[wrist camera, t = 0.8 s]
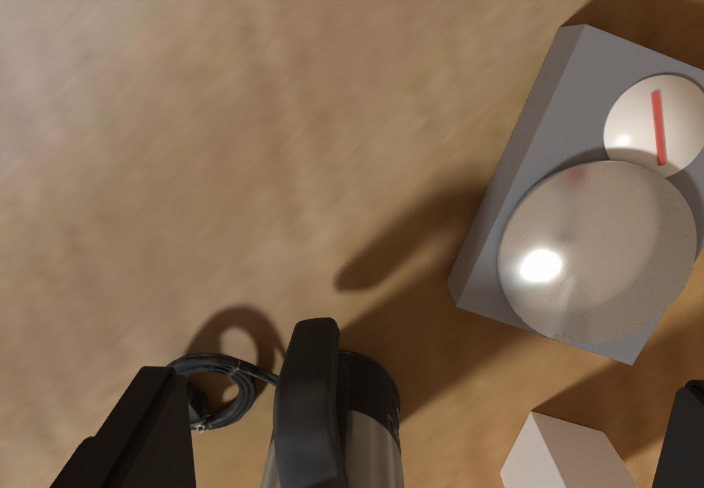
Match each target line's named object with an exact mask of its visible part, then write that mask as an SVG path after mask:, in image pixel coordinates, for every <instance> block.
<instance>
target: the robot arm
mask: <svg viewBox="0 0 704 488" xmlns="http://www.w3.org/2000/svg"><path fill="white" fill-rule="evenodd" d="M50 488H196V480H195V469H194V458H193V448H192V437H191V427H190V416H189V406H188V395H187V385H186V378H185V376H184V375H177V373H176V370H175V368H174V367H156V366H144V367H142V368H141V369H140V370H139V372H138V373H137V375H136V376H135V378H134V379H133V381H132V382H131V383H130V385H129V386H128V388H127V389H126V391H125V392H124V394H123V395H122V397H121V398H120V400H119V401H118V403H117V404H116V406H115V407H114V409H113V410H112V412H111V413H110V415H109V416H108V418H107V419H106V421H105V422H104V423H103V425H102V426H101V428H100V429H99V431H98V432H97V434H96V435H95V437H91V436H90V437H88V438H86V439H84V440H83V442H82V443H81V444H80V445H79V446H78V448H77V449H76V451H75V452H74V453H73V455H72V456H71V458H70V459H69V461H68V462H67V463H66V465H65V466H64V468H63V469H62V471H61V472H60V473H59V475H58V476H57V478H56V479H55V481H54V482H53V483H52V485H51V486H50ZM652 488H704V380H690V381H688V382H687V384H686V385H685V387H682V388H679V390H678V391H677V393H676V396H675V400H674V404H673V408H672V411H671V415H670V419H669V423H668V427H667V431H666V435H665V438H664V442H663V446H662V450H661V454H660V458H659V462H658V465H657V469H656V473H655V477H654V481H653V485H652Z"/></svg>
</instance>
